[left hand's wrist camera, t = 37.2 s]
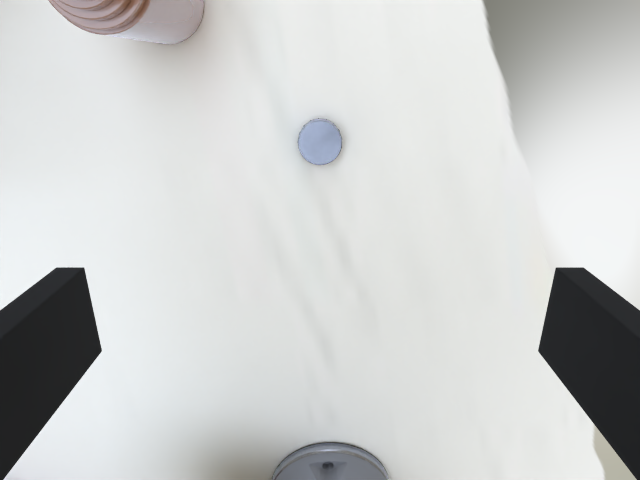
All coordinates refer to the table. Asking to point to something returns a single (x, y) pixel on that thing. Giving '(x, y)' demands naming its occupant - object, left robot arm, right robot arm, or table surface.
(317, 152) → the cap
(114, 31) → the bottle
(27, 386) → the left robot arm
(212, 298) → the table surface
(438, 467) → the table surface
